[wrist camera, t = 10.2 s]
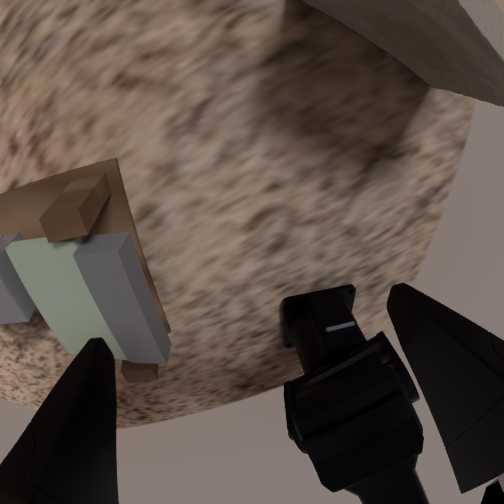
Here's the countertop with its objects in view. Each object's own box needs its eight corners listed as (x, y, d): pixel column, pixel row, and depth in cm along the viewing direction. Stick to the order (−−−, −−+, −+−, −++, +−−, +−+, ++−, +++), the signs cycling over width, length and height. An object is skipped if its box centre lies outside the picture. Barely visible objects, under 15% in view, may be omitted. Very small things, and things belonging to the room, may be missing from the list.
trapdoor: (173, 347, 20) (168, 368, 19) (74, 341, 21) (66, 359, 19) (127, 223, 14) (114, 242, 13) (15, 237, 15) (0, 253, 13)
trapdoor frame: (170, 329, 25) (170, 383, 20) (64, 340, 24) (52, 387, 19) (116, 158, 16) (89, 193, 12) (-10, 198, 15) (-51, 238, 11)
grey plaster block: (444, 52, 15) (549, 74, 7) (430, 88, 17) (535, 123, 9) (306, -43, 11) (394, -102, 3) (285, -3, 12) (369, -54, 5)
